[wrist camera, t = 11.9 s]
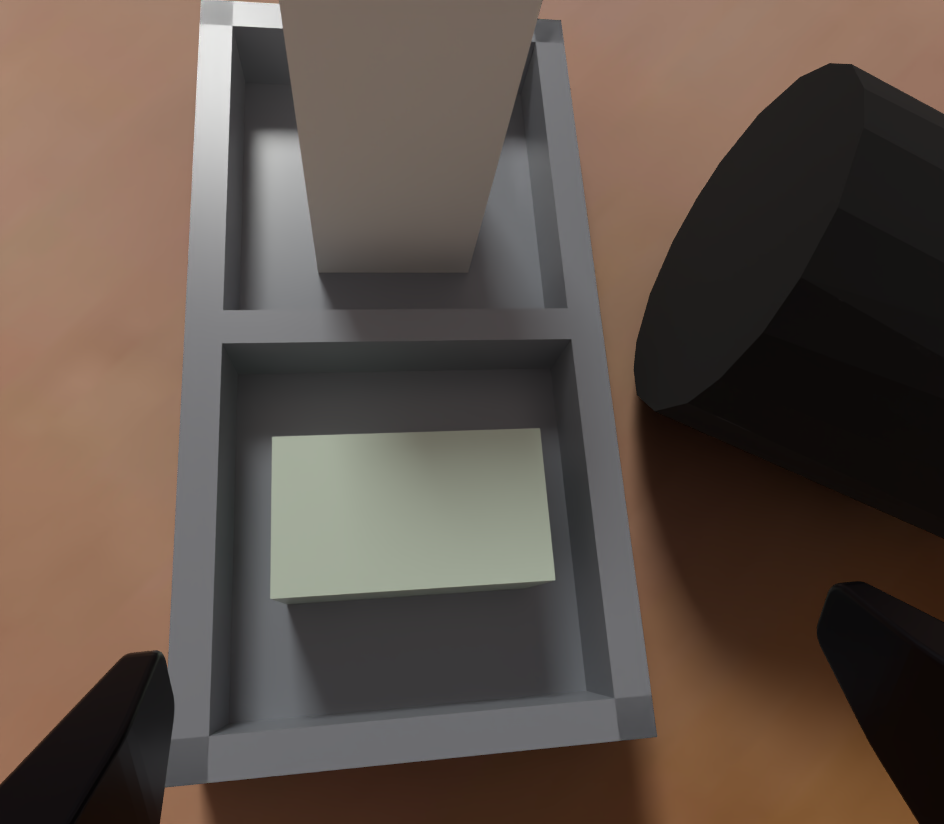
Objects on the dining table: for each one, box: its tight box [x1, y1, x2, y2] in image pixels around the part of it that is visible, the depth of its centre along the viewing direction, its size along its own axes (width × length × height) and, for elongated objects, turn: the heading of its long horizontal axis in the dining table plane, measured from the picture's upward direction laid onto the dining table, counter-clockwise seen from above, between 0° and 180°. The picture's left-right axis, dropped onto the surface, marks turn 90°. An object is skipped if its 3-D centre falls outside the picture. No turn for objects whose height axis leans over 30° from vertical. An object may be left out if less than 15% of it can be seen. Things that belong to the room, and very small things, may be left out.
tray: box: [165, 0, 657, 787], centre depth 22 cm, size 23×12×4 cm, turn 4°
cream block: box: [279, 0, 543, 273], centre depth 19 cm, size 5×5×12 cm
